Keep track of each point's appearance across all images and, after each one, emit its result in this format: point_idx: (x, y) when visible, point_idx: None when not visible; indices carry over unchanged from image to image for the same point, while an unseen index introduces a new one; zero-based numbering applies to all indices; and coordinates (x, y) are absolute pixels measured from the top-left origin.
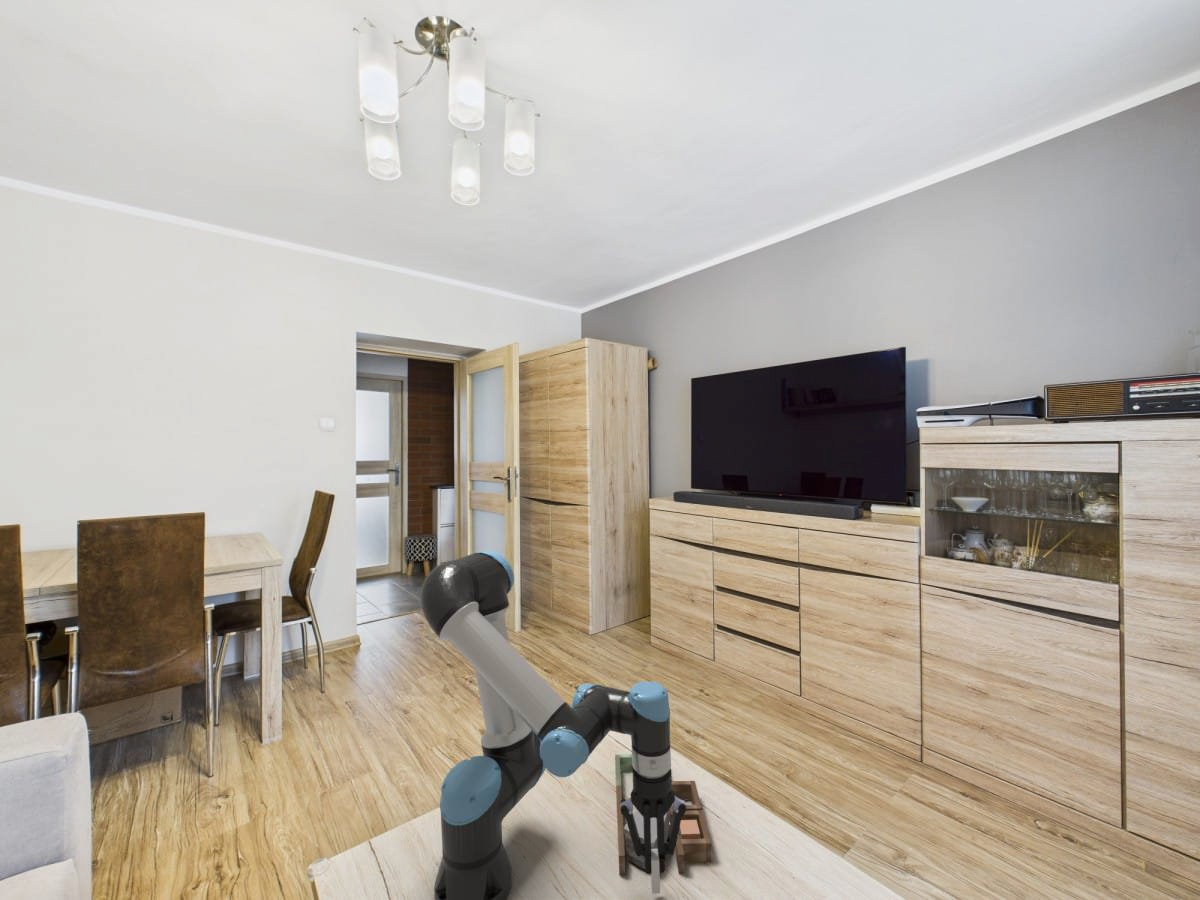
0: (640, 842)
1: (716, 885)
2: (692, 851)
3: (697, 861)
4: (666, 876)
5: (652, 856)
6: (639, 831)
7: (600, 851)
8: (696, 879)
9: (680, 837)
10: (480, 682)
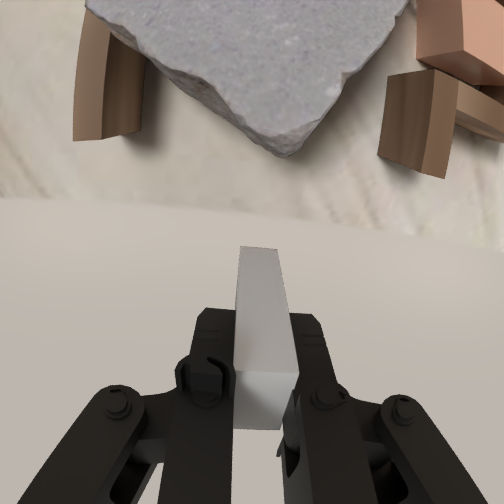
0: (137, 442)
1: (464, 226)
2: (466, 121)
3: (455, 123)
4: (324, 156)
5: (241, 411)
6: (195, 15)
7: (63, 27)
8: (426, 192)
9: (436, 25)
10: None
